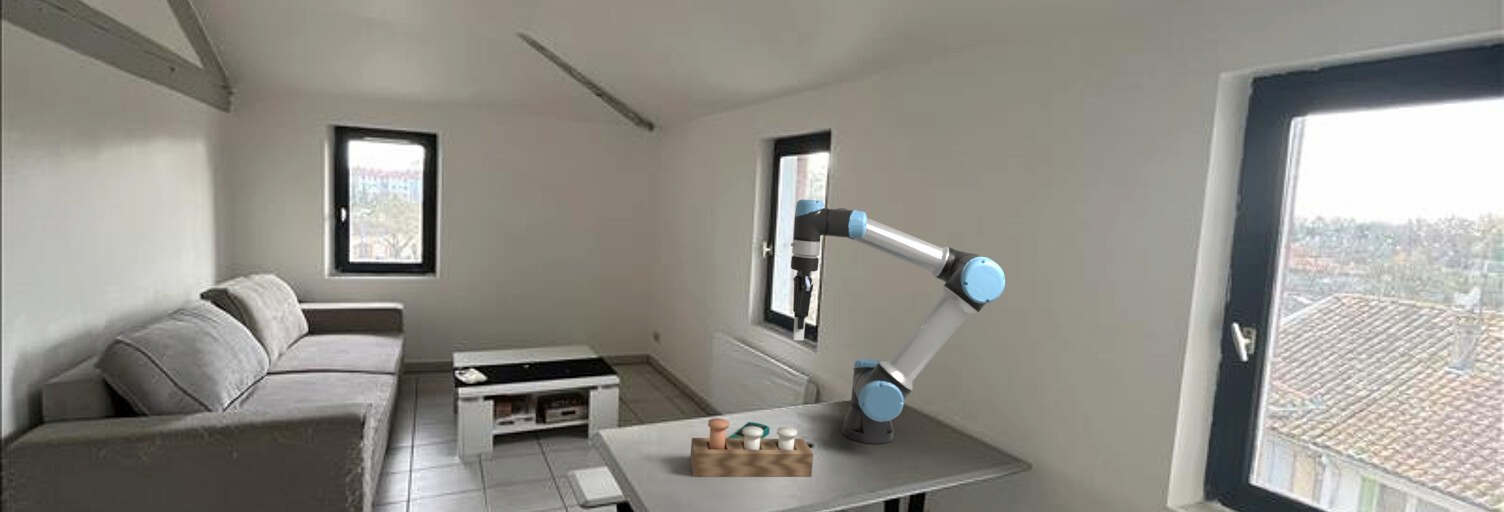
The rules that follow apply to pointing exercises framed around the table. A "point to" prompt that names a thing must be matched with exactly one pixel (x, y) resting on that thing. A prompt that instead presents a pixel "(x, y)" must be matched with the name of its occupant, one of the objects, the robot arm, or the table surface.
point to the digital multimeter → (740, 432)
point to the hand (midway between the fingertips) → (798, 339)
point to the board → (750, 459)
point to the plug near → (786, 438)
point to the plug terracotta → (717, 433)
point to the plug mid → (752, 437)
